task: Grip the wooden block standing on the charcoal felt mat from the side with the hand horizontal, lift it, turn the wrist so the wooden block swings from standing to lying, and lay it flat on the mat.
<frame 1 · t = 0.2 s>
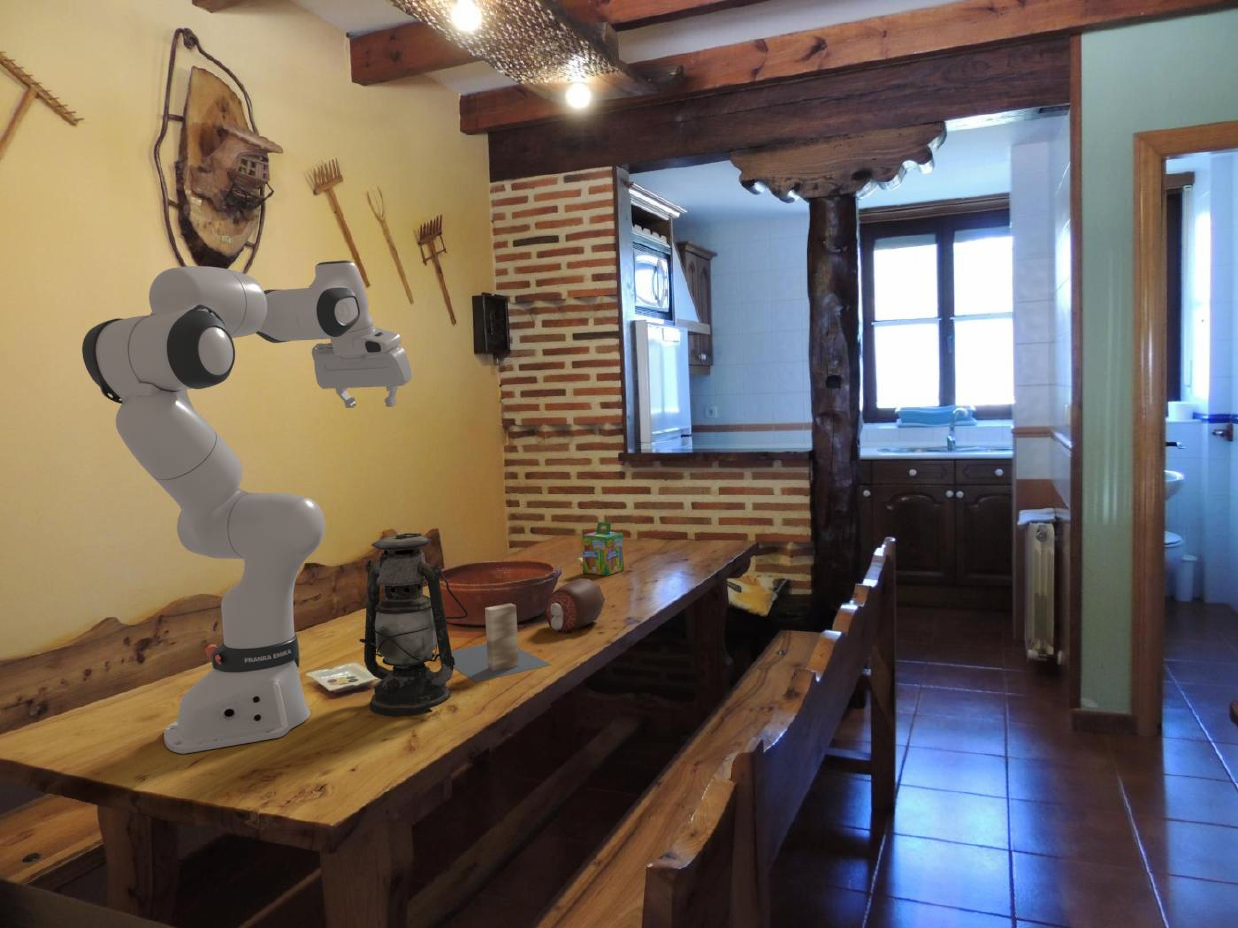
hand: (371, 406, 180), 52 cm above the table, tool tilted 20°, fingers open, 8 cm apart
meat: (575, 627, 202), on the table
mat: (490, 662, 177), on the table
chalk box: (603, 572, 261), on the table
wooden block: (503, 666, 172), point 1 cm above the table, touching mat
lantern: (417, 697, 159), on the table
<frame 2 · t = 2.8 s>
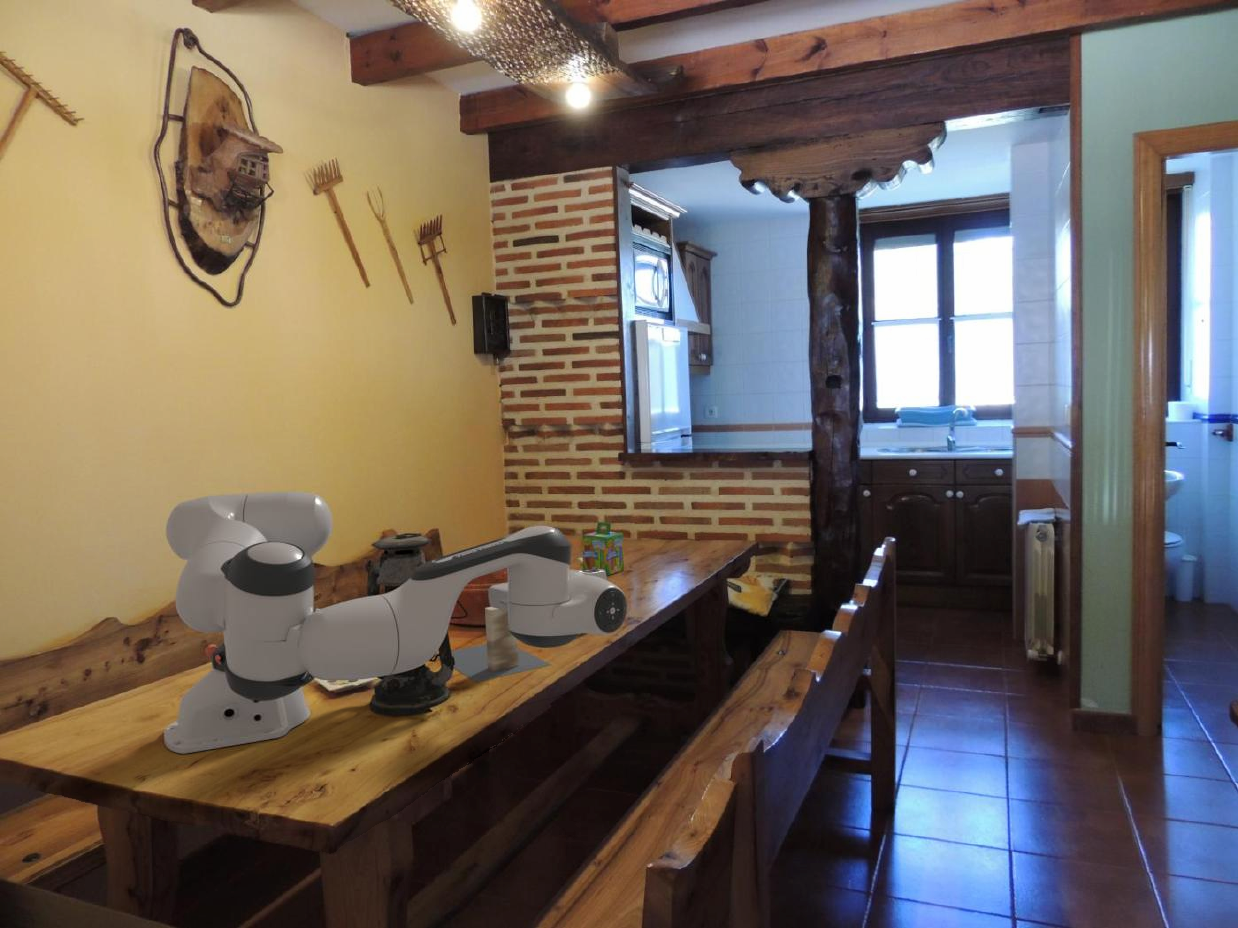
hand: (527, 583, 161), 19 cm above the table, tool horizontal, fingers open, 8 cm apart
nothing on the table moved.
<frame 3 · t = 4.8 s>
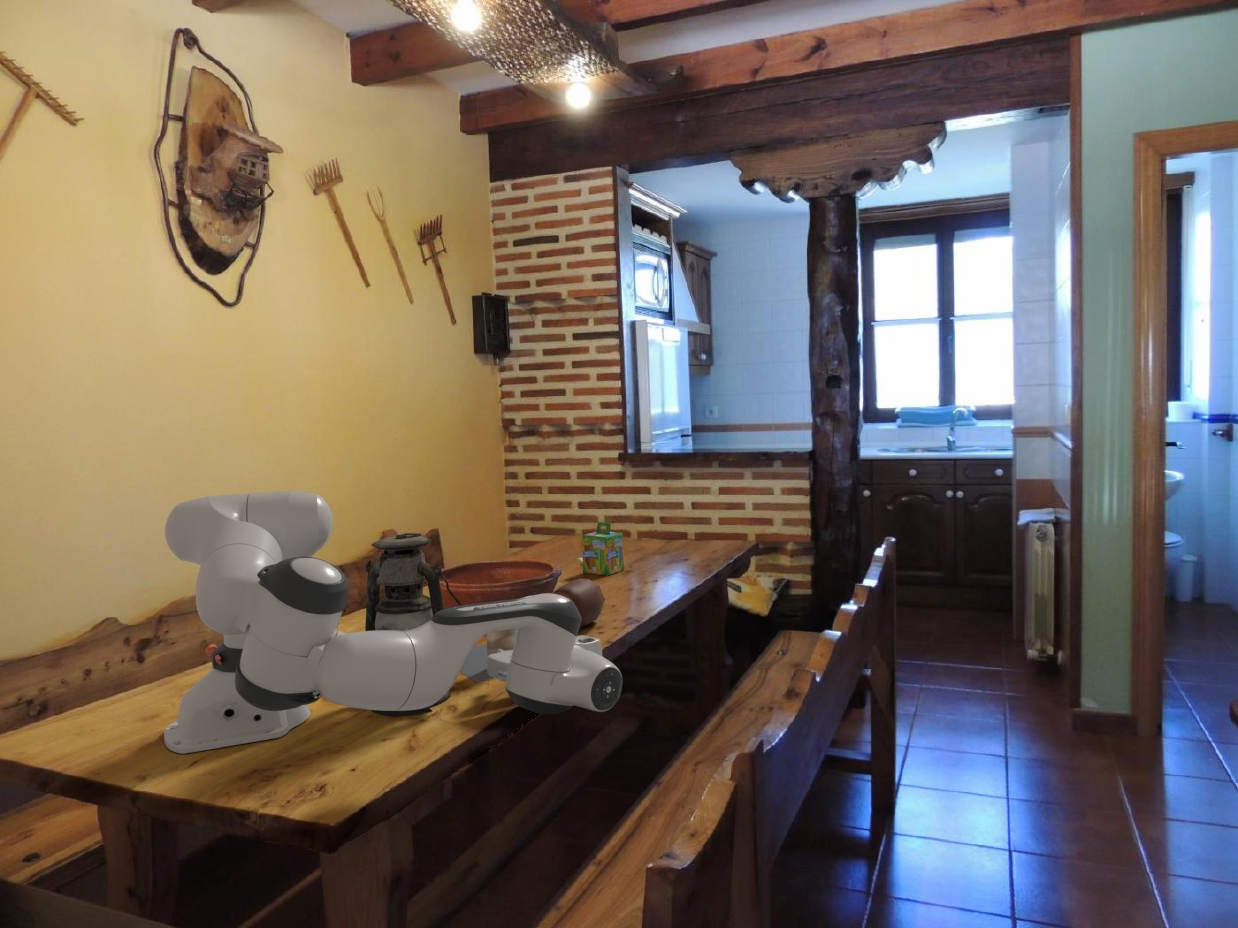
hand: (523, 647, 165), 6 cm above the table, tool horizontal, fingers open, 8 cm apart
nothing on the table moved.
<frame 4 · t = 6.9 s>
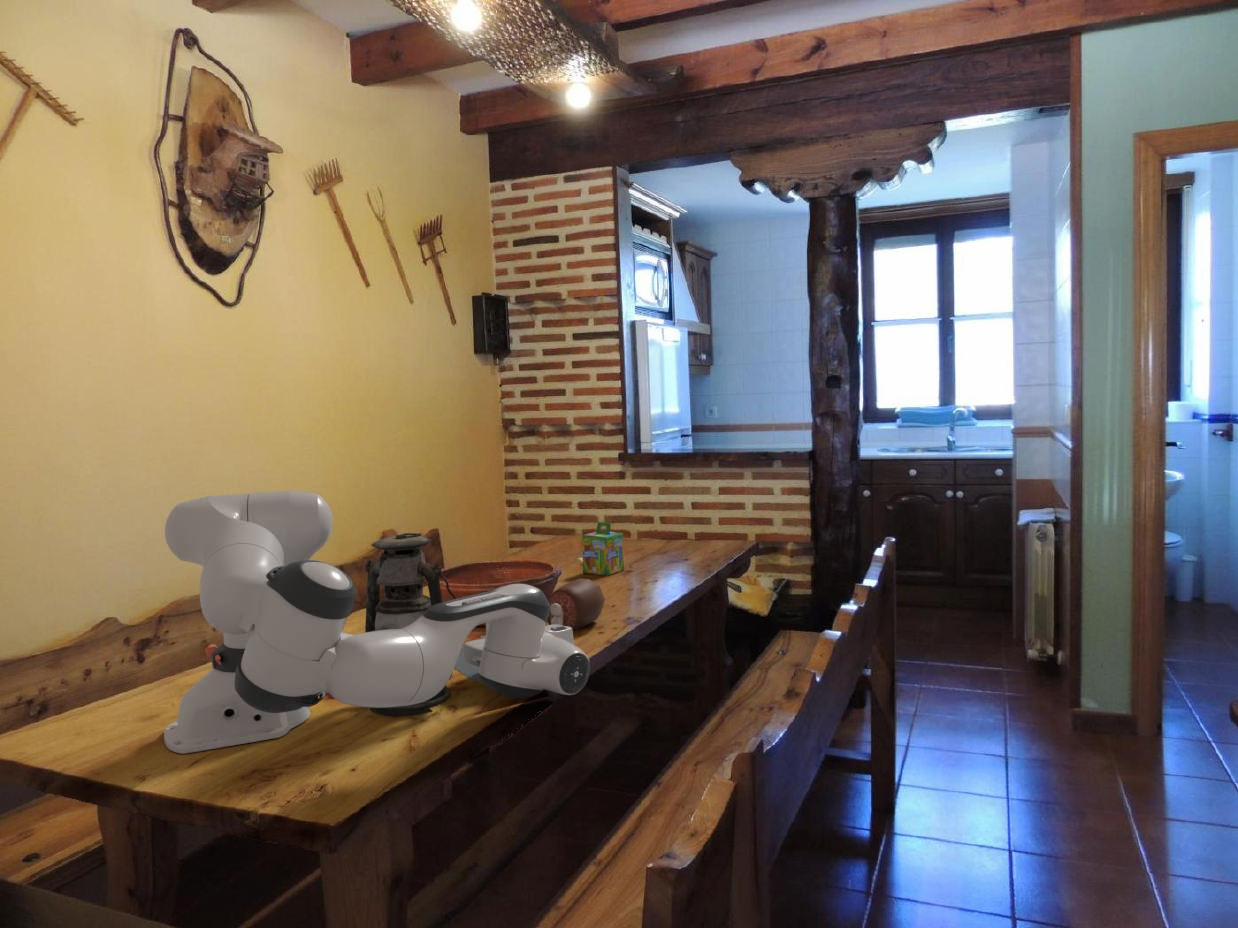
hand: (500, 636, 173), 7 cm above the table, tool horizontal, fingers closed on wooden block, 5 cm apart
wooden block: (503, 666, 172), point 1 cm above the table, touching gripper, mat
everything else where it was.
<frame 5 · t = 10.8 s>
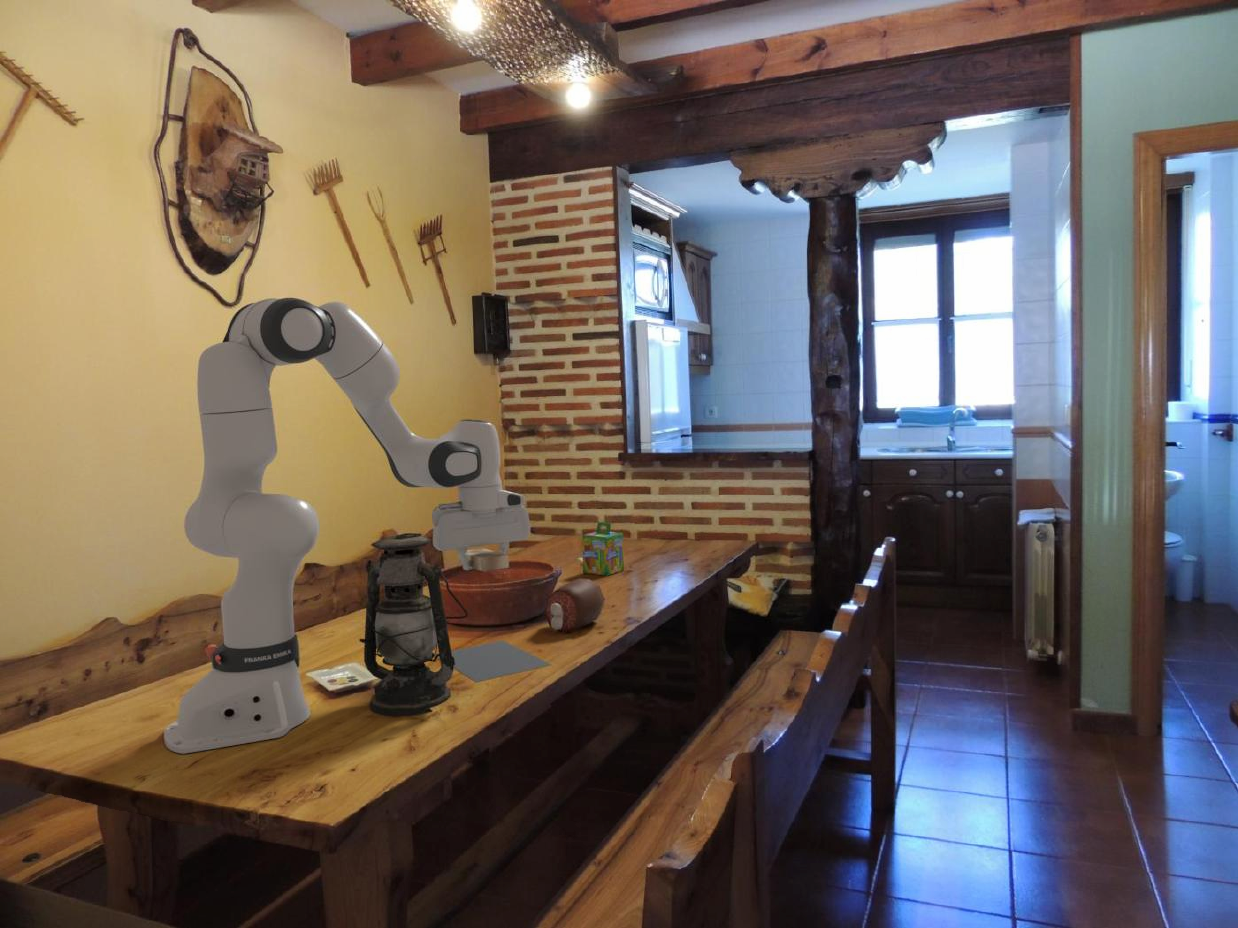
hand: (484, 566, 179), 19 cm above the table, tool pointing down, fingers closed on wooden block, 5 cm apart
wooden block: (496, 563, 174), point 21 cm above the table, tilted 90°, touching gripper
everything else where it was.
when the fingers open (2 cm above the table, at t = 14.3 s): wooden block drops 2 cm, resting on mat.
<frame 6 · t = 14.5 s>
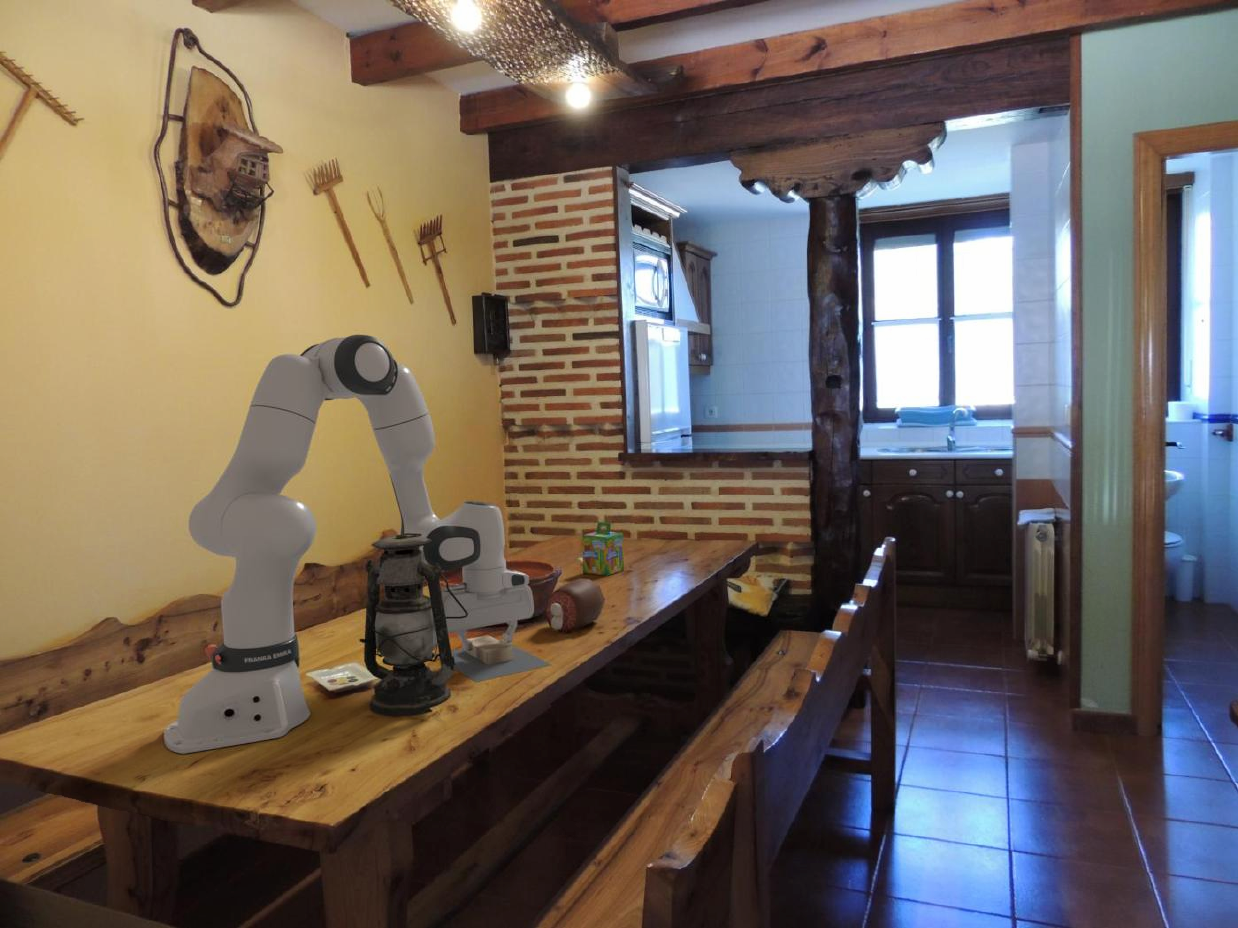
hand: (488, 646, 180), 2 cm above the table, tool pointing down, fingers open, 8 cm apart
wooden block: (500, 656, 175), point 2 cm above the table, tilted 90°, touching mat
everything else where it was.
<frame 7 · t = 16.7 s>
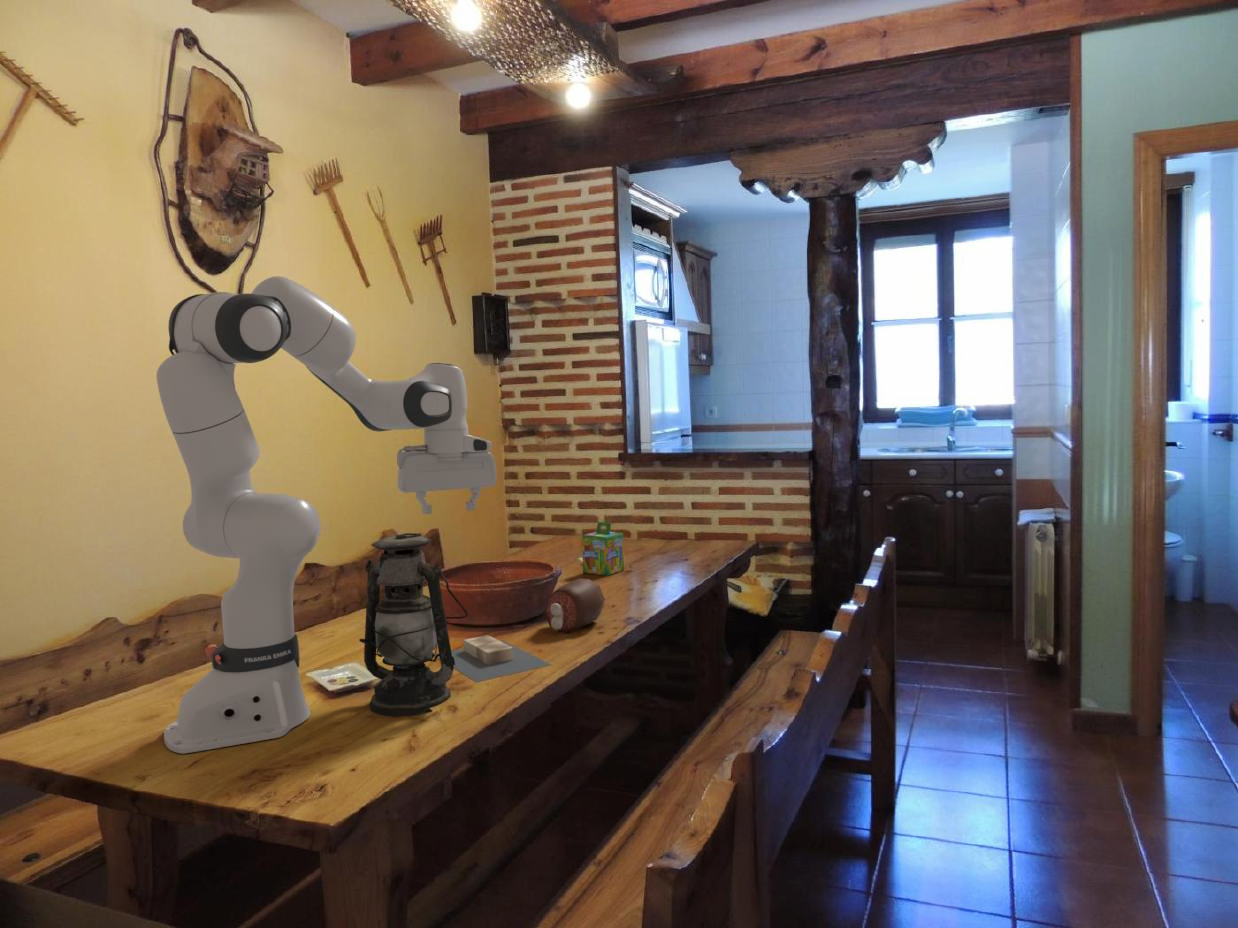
hand: (449, 511, 179), 30 cm above the table, tool pointing down, fingers open, 8 cm apart
nothing on the table moved.
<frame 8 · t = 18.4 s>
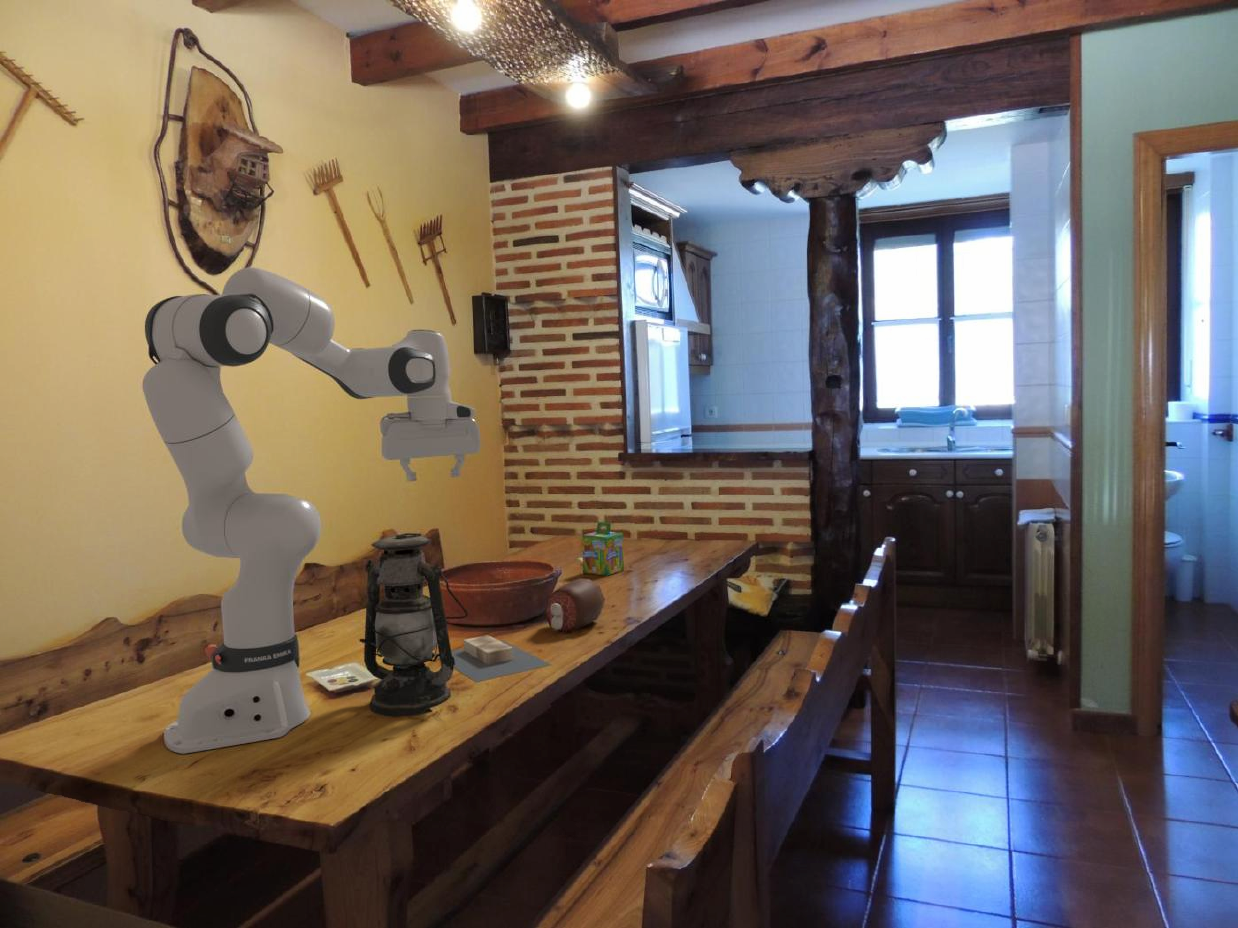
hand: (434, 479, 179), 37 cm above the table, tool pointing down, fingers open, 8 cm apart
nothing on the table moved.
at the end: wooden block tilted 90°; wooden block inside the target area (2.4 cm from its centre), point 1.8 cm above the table; the gripper is holding nothing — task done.
